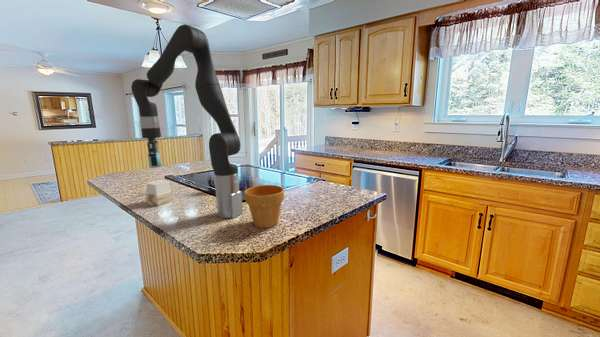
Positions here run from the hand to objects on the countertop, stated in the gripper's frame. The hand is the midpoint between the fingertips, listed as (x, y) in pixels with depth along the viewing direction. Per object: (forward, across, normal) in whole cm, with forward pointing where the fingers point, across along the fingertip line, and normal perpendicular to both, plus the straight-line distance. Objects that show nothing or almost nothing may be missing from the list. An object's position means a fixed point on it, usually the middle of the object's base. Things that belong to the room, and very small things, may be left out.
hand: (155, 164), depth 128 cm
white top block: (+13, 0, 0) cm, 13 cm away
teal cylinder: (+1, 0, 0) cm, 1 cm away
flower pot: (+18, -44, -40) cm, 62 cm away
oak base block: (+18, 0, 0) cm, 18 cm away
